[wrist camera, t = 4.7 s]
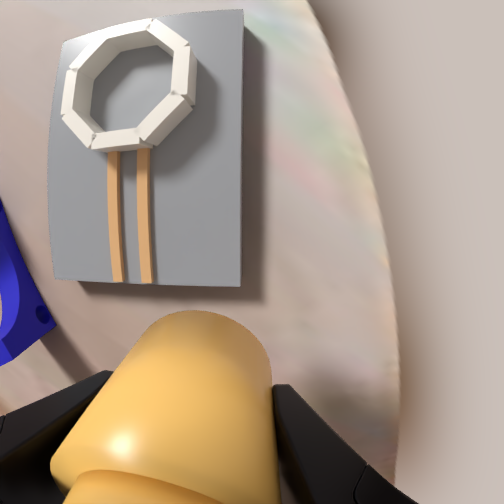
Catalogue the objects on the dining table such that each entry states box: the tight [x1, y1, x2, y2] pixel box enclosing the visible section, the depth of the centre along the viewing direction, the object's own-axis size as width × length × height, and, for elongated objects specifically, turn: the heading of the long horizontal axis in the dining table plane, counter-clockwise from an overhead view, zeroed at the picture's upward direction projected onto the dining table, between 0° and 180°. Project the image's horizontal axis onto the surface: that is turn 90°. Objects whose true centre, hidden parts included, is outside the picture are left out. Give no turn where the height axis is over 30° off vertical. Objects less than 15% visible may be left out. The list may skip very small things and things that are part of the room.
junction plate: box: [47, 9, 244, 287], centre depth 15 cm, size 16×12×4 cm
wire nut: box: [50, 310, 282, 504], centre depth 5 cm, size 4×4×6 cm
